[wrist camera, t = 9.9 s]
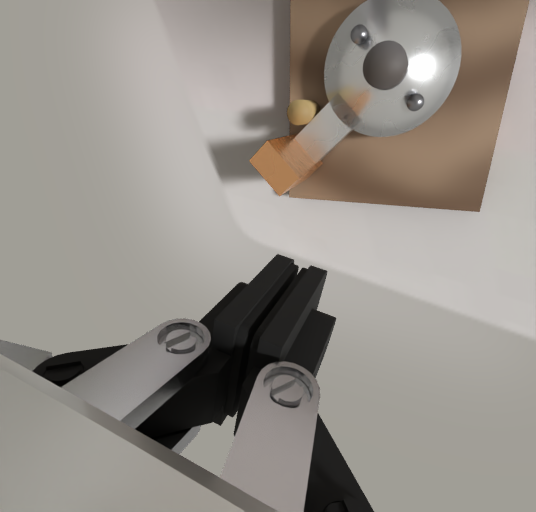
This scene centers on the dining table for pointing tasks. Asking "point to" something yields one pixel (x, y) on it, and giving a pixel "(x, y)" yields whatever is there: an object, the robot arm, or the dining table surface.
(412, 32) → the crank handle
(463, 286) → the dining table surface
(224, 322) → the robot arm
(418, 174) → the walnut board
